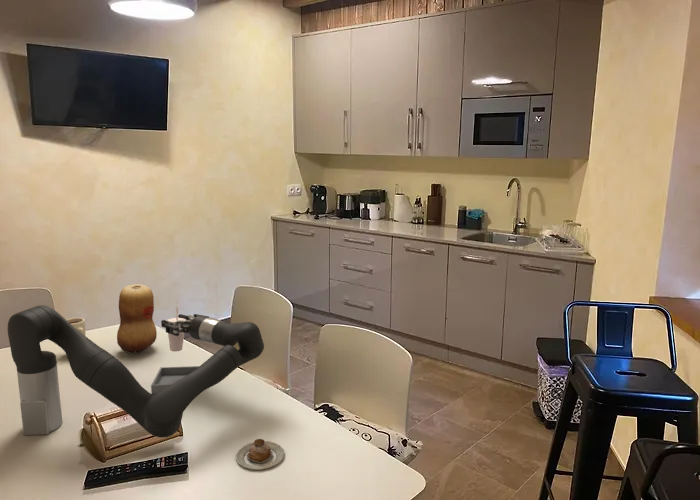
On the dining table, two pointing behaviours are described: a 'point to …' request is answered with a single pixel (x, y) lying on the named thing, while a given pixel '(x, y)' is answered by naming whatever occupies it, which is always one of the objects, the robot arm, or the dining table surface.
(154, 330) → the butternut squash
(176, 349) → the smoothie
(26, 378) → the robot arm
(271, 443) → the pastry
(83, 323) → the character mug
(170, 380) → the bin
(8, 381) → the dining table surface
